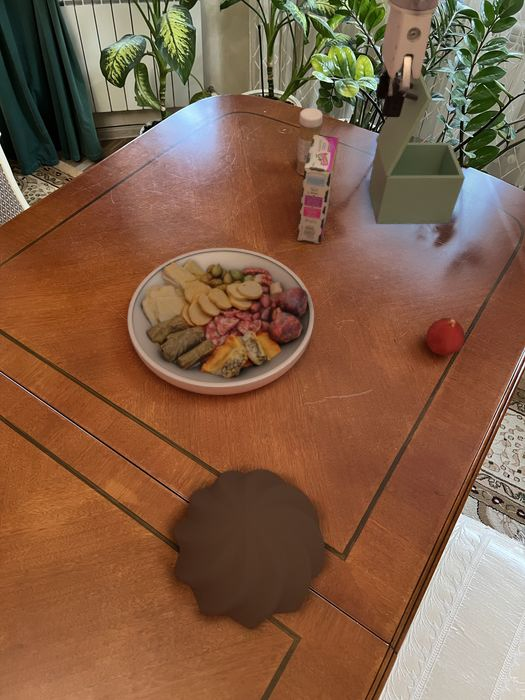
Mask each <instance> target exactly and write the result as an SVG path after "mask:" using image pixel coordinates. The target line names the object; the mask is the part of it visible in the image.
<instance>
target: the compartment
mask: <svg viewBox="0 0 525 700" xmlns="http://www.w3.org/2000/svg"><path fill="white" fill-rule="evenodd" d="M458 160H459V159H458V157H457V155H456V153H455V151H454V148H453V146H452V144H451V142H408V144H407V146H406V147H405V149H404V151H403V153H402V155H401V156H400V158H399V160H398V162H397V164H396V165H395V167H394V169H393V171H392V173H391V174H390V176H387V175H386V174H385V171H384V167H383V163H382V160H381V156H380V153H379V149H378V145H377V144H376V148H375V152H374V156H373V161H372V166H371V167H372V168H371V172H370V178H369V182H368V186H367V187H368V194H369V198H370V202H371V206H372V211H373V215H374V218H375V223H376V225H411V224H412V225H418V224H419V225H425V224H428V225H429V224H430V225H431V224H432V225H433V224H437V223H438V224H439V223H441V225H444V224H445V225H446V224H450V222H451V219H452V215H453V214H454V210H455V207H456V205H457V201H458V199H459V196H460V193H461V190H462V187H463V184H464V181H465V179H466V177H465V175H464V172H463V170H462V168H461V165H460V162H459V161H458Z"/></svg>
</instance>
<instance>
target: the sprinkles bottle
mask: <svg viewBox="0 0 525 700" xmlns="http://www.w3.org/2000/svg"><path fill="white" fill-rule="evenodd" d="M323 116H324V115H323V112H322V111H321V110H320V109H318V108H313V107H307V108H303V109H302V110H301V111H300V112H299V134H298V144H297V145H298V146H297V156H296V157H297V161H296V173H297V174H298V175H300V176H302V177H304V168H305V164H306V160H307V156H308V153H309V150H310V146H311V143H312V139H313V136H314V135H321V130H322V129H321V127H322V124H323Z"/></svg>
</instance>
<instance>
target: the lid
mask: <svg viewBox="0 0 525 700" xmlns="http://www.w3.org/2000/svg"><path fill="white" fill-rule="evenodd" d="M390 79H391V77H390V76H389V78H388V83H389V85H390ZM400 81H401V80H395V85H394V87H395V86H396V85H397V84H399V83H400ZM432 101H433V98H432V95H431V93H430V90H429V88H428V85H427V83H426V81H425V78H424V76H423V73H422V72H421V73H420V76H419V78H418V79H417V80H415V79H413V78H412V75H411V76H410V88H409V90H408V91H407V92H406V96H405V99H404V103H403V106H402V110H401V114H400V116H399V117H386V119H385V121H384V123H383V125H382V127H381V129H380V131H379V133H378V135H377V137H376V139H375V142H376V146H377V145H378V149H379V153H380V156H381V160H382V163H383V167H384V171H385V174H386V175H387V176H390V174H391V173H392V171H393V169H394V167H395V165H396V164H397V162H398V160H399V158H400V156H401V155H402V153H403V151H404V149H405V147H406V146H407V144H408V143H410V140H411V138H412V136H413V135H414V133H415V131H416V130H417V127H418V126H419V124H420V122H421V120H422V119H423V116H424V115H425V113H426V111H427V109H428V107H430V105H431V102H432Z"/></svg>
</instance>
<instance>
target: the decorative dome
mask: <svg viewBox="0 0 525 700" xmlns="http://www.w3.org/2000/svg"><path fill="white" fill-rule="evenodd" d="M319 523H320V518H319V516H318V513H317V511H316V508H315V506H314V504H313V503H312V500H311V499H310V498H309V496H308V495H307V494H306V492H304V491H303V490H301V488H299V487H297V486H295V485H293V484H291V483H288V482H287V481H286V480H285V479H284V478H283V477H282V476H280V475H278V474H277V473H275V472H274V471H272V470H269V469H265V468H258V469H253V470H251V471H249V472H244V471H240V470H234V469H231V470H229V469H228V470H225V471H223V472H221V473H220V474H219V475H217V477H216V479H215V480H214V481H213V483H212V484H211V485H210V486H206V487H200V488H198V489H196V490H194V491H193V492H192V493H191V494H190V496H189V500H188V511H187V514H186V515H185V516H184V517H183V518H181V520H179V521H178V522H177V523H176V524H175V525H174V527H173V529H172V536H173V537H174V540H175V541H176V544H177V545H178V547H179V552H178V555H177V559H176V562H175V565H174V569H173V572H174V575H175V576H176V578H177V579H178V580H179V581H181V582H183V583H185V584H186V586H188V587H189V588H190V589H191V590H192V592H193V595H194V598H195V602H196V605H197V607H198V610H199V612H200V613H201V614H202V615H204V616H223V617H229V618H230V619H232V620H234V622H237V623H238V624H240V625H241V626H243V627H244V628H246V629H247V630H253V629H255V628H257V627H258V626H260V625H261V624H262V623H264V622H265V621H266V620H267V619H268V618H270V617H271V616H274V615H278V614H279V615H281V614H289V613H297V612H299V610H300V609H301V607H302V606H303V604H304V603H305V601H306V598H307V596H308V593H309V591H310V588H311V583H312V582H313V580H314V579H316V578H317V577H318V575H320V574H321V573H322V571H323V570H324V568H325V558H326V548H325V541H324V536H323V533H322V531H321V529H320V525H319Z"/></svg>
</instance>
